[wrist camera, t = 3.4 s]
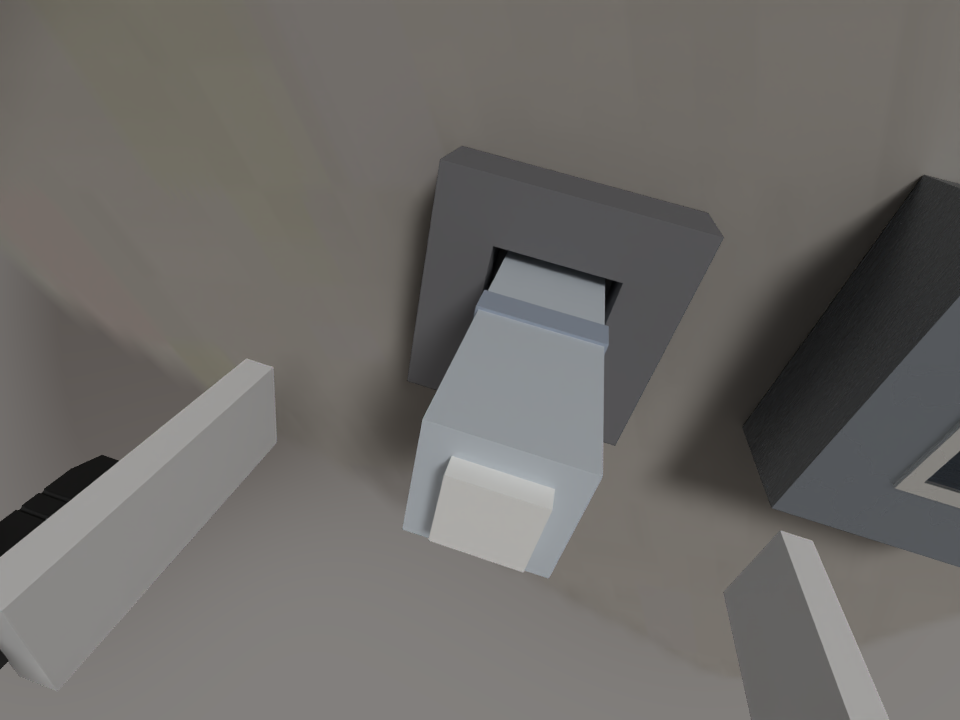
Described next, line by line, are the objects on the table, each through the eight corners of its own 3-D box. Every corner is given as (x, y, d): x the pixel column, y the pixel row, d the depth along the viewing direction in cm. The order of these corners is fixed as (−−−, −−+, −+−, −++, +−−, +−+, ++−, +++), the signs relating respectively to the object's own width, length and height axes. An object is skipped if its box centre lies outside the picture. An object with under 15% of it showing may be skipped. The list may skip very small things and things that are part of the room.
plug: (490, 321, 22) (390, 549, 12) (511, 237, 20) (409, 432, 10) (576, 347, 22) (548, 604, 12) (608, 265, 20) (609, 496, 9)
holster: (427, 348, 25) (407, 380, 22) (461, 145, 19) (440, 159, 17) (614, 405, 24) (615, 445, 21) (708, 213, 18) (724, 237, 16)
